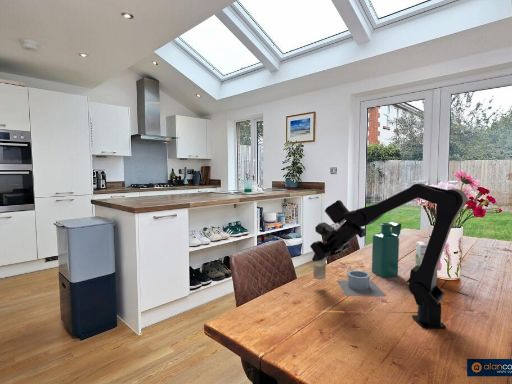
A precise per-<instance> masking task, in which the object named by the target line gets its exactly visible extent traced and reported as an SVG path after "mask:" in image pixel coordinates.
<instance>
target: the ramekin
mask: <svg viewBox="0 0 512 384" xmlns="http://www.w3.org/2000/svg"><path fill="white" fill-rule="evenodd" d="M346 281H347V285H348V286H349V287H350V288H353V289H357V290H366V289H369V287H370V281H371V275H370V273H368V272H366V271H363V270H350V271H347V278H346Z"/></svg>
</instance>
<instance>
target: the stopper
mask: <svg viewBox="0 0 512 384" xmlns="http://www.w3.org/2000/svg"><path fill="white" fill-rule="evenodd" d="M314 254H315V253H314V252H313V255H314ZM326 259H327V258H326ZM326 259H324V260H319V261H315V262H313V279H316V280H325V279H326V275H327V273H326V272H327V271H326V270H327V269H326V267H327V266H326V265H327V260H326Z"/></svg>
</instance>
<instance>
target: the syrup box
mask: <svg viewBox="0 0 512 384" xmlns="http://www.w3.org/2000/svg"><path fill="white" fill-rule="evenodd" d="M428 242H429V241H416V242H415V266H416V265H418V266H420V265H421V263H422V260H423V257H424V254H425V251H426V248H427V245H428Z"/></svg>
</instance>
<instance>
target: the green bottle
mask: <svg viewBox="0 0 512 384" xmlns="http://www.w3.org/2000/svg"><path fill="white" fill-rule="evenodd" d="M379 226H380V227H381V230H380V232H379V233H375V234H373V235H372V246H371V247H372V248H371V249H372V250H371V272H372V273H373V274H375V275H377V276H379V277H380V278H381V277H382V278H392V277H397V276H398V275H399V258H400V257H399V256H400V255H399V254H400V238H399V236H400V234H401V230H402V223H400V222H395V221H390V222H381V223H379Z"/></svg>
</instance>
